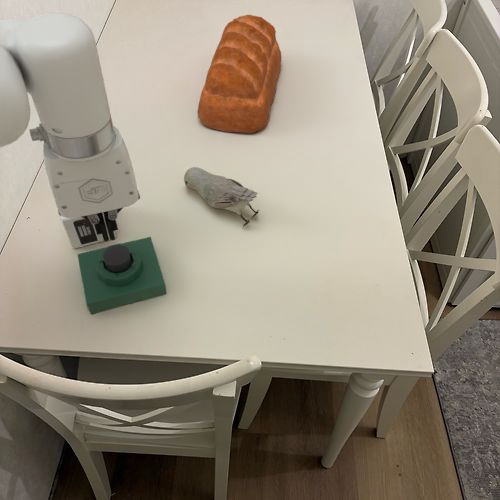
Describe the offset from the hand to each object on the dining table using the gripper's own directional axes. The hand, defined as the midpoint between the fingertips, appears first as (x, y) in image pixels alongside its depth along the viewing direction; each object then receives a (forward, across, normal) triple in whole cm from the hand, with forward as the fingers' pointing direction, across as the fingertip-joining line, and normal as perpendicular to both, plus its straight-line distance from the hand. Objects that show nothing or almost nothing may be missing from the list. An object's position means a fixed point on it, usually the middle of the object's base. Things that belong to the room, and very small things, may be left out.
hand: (108, 233), depth 70 cm
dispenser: (+12, 0, 0) cm, 12 cm away
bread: (+12, +36, +44) cm, 58 cm away
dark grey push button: (+7, 0, 0) cm, 7 cm away
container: (+12, -3, +13) cm, 18 cm away
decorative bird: (+12, +20, +11) cm, 26 cm away
